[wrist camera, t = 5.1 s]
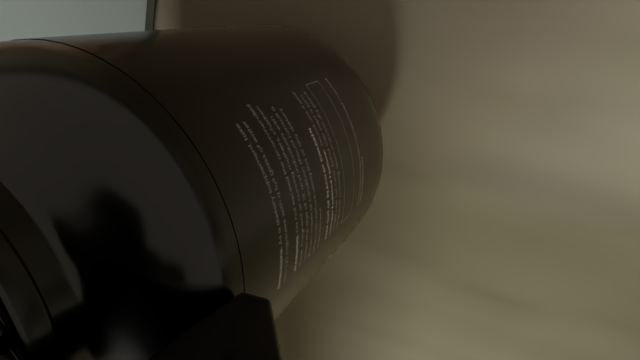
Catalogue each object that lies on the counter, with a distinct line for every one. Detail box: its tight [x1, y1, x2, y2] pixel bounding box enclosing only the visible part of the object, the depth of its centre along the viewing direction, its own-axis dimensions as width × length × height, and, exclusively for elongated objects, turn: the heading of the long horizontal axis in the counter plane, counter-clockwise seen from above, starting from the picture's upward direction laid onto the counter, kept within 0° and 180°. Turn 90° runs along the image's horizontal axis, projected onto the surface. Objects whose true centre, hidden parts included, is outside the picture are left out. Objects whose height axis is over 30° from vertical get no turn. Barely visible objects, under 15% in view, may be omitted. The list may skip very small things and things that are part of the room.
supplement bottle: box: [0, 24, 383, 360], centre depth 10 cm, size 7×7×12 cm
